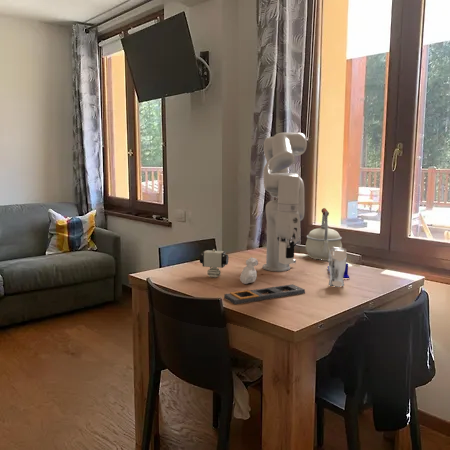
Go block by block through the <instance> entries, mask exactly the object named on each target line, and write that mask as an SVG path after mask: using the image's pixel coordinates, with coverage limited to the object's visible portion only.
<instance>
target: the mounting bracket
mask: <svg viewBox="0 0 450 450" xmlns="http://www.w3.org/2000/svg"><path fill="white" fill-rule="evenodd" d="M327 268H328V269H327ZM327 268H326V269H327V271H329V265H327ZM328 273H330V271H329V272H328ZM343 278H349V279H350V275H349V264H348V263H346V267H345V272H344V277H343Z"/></svg>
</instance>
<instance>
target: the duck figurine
mask: <svg viewBox="0 0 450 450" xmlns="http://www.w3.org/2000/svg"><path fill="white" fill-rule="evenodd" d="M245 264H246V266H245V267H243V268H242V270H241V273H240V276H239V281H240V282H241V283H242V284H245V285H248V284H251V283H254V282H255V281H256V280H257V278H258V277H257V270H256V268H255V267H256V266H258V265H259V262H258V259H257V258H255V257H252V256H251V257H249V258H247V259H246V260H245Z"/></svg>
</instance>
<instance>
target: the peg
mask: <svg viewBox="0 0 450 450" xmlns="http://www.w3.org/2000/svg"><path fill="white" fill-rule="evenodd" d="M291 242H292V241H290V243H291ZM286 248H288V246H287V241H279V262H280V263H282V264H289V265H291V264H292V265H293V264H295V263H294V259H295V257H294V258H286Z"/></svg>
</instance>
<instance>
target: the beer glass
mask: <svg viewBox="0 0 450 450" xmlns="http://www.w3.org/2000/svg"><path fill="white" fill-rule="evenodd" d="M347 255H348V254H347V248H344V247H342V248H338V247H334V248H330V250H329V260H328V266H329V271H330V274H329V282H328V286H329V285H330V286H329V287H331V286H335V287H340V286H344V287H345V283H344V281H345V280H343V277H344V272H345V267H346V264H347ZM335 287H334V288H335Z"/></svg>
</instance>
